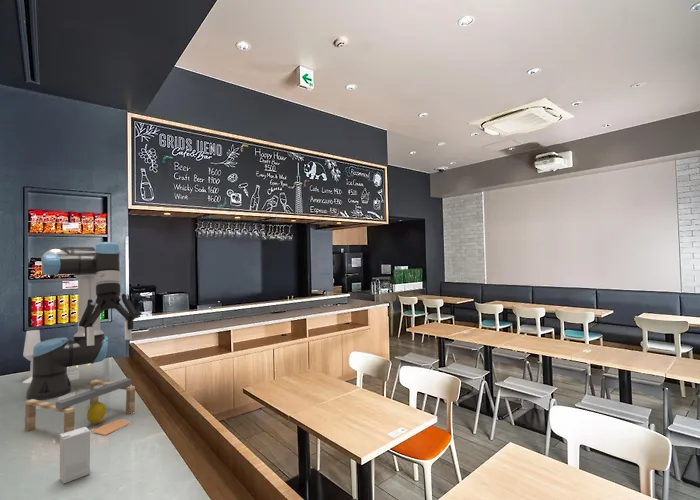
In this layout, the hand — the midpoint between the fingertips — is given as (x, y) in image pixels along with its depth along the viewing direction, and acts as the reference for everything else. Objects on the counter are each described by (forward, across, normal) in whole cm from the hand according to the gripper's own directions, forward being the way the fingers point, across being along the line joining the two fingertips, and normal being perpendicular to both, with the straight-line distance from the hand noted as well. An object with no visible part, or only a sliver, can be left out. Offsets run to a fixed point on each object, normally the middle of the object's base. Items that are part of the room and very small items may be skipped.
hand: (109, 342), depth 130 cm
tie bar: (+17, -8, +4) cm, 20 cm away
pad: (+29, -2, +4) cm, 29 cm away
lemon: (+28, -10, +6) cm, 30 cm away
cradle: (+26, -16, +8) cm, 32 cm away
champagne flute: (+10, -72, +49) cm, 88 cm away
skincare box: (+36, +6, -24) cm, 44 cm away
